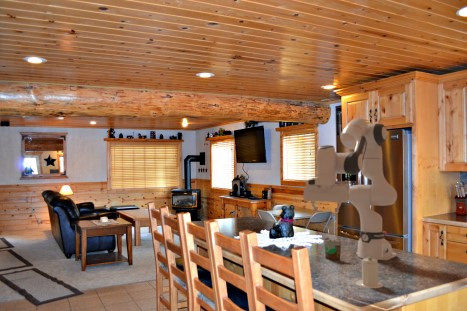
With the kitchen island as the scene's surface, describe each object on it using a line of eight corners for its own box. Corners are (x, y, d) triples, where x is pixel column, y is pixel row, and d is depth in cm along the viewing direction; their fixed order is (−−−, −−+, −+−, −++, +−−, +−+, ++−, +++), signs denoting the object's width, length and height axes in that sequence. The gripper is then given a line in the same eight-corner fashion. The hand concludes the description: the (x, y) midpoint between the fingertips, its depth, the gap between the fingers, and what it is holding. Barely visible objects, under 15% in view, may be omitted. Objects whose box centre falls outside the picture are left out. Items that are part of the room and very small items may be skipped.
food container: (318, 256, 221) (318, 238, 222) (328, 255, 224) (328, 237, 224) (331, 261, 210) (331, 242, 210) (341, 260, 212) (341, 241, 212)
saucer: (365, 280, 178) (365, 278, 178) (388, 286, 169) (388, 284, 169) (349, 285, 171) (349, 283, 171) (373, 291, 162) (373, 289, 162)
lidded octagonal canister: (367, 280, 174) (367, 254, 174) (380, 284, 169) (380, 257, 169) (359, 283, 170) (359, 256, 170) (372, 287, 166) (372, 259, 166)
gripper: (350, 181, 183) (350, 211, 183) (305, 180, 191) (305, 209, 191) (349, 181, 177) (349, 213, 177) (302, 181, 185) (302, 211, 185)
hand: (326, 211), depth 184 cm, fingers open, 8 cm apart
